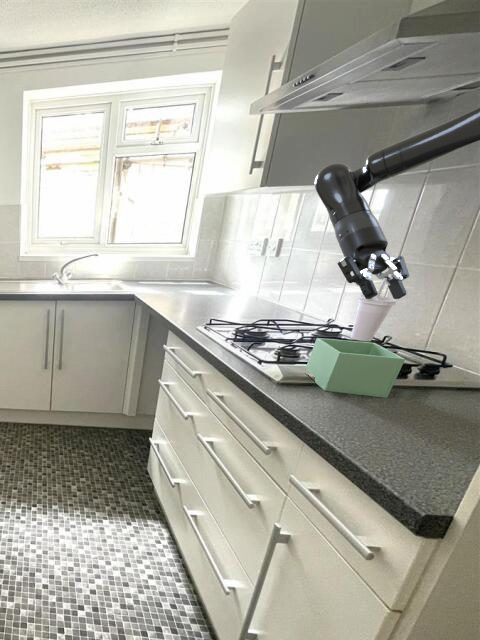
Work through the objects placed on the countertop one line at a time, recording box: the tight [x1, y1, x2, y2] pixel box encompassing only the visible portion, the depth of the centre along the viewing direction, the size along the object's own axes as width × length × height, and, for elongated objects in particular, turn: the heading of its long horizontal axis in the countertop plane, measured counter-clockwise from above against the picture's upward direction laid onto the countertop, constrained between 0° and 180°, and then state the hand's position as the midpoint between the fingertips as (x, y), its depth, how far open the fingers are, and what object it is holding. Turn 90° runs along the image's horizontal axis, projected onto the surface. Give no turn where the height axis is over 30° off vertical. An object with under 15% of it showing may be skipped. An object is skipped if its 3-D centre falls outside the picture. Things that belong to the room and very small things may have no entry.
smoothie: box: [350, 278, 397, 342], centre depth 95 cm, size 6×6×14 cm
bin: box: [305, 337, 406, 399], centre depth 101 cm, size 12×12×10 cm
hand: (386, 296), depth 92 cm, fingers closed on smoothie, 6 cm apart
